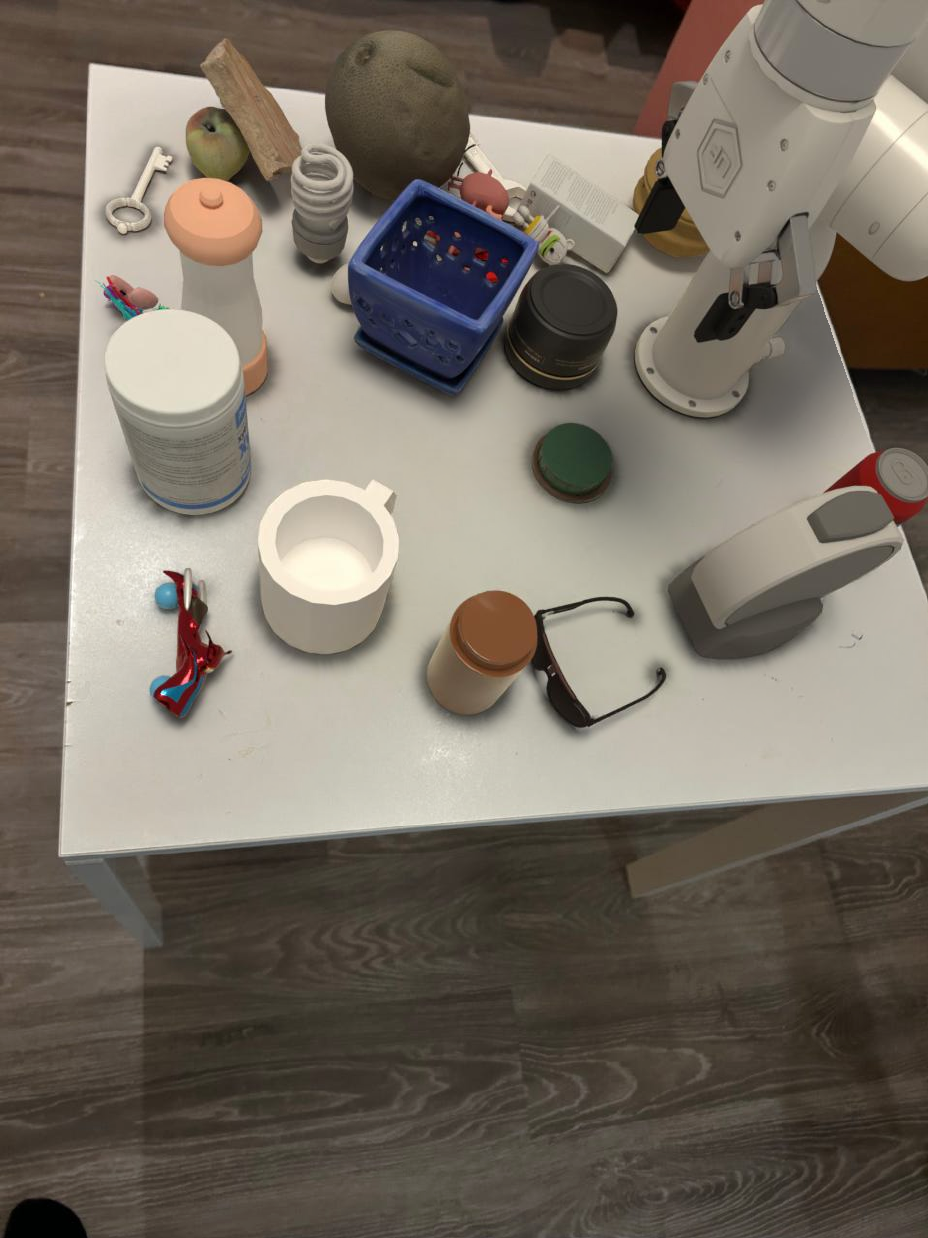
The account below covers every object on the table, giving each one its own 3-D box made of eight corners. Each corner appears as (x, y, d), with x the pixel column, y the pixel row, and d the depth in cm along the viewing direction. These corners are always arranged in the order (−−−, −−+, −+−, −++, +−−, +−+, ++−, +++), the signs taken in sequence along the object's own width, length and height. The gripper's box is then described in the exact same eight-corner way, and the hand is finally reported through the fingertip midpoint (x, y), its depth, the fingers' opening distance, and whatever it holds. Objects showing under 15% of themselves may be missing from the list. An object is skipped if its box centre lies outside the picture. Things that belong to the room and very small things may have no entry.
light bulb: (357, 259, 84) (368, 155, 73) (324, 291, 81) (331, 189, 70) (312, 229, 84) (316, 122, 73) (278, 260, 82) (277, 153, 71)
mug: (324, 495, 73) (331, 426, 63) (423, 553, 73) (445, 493, 63) (236, 613, 67) (228, 557, 58) (343, 677, 67) (353, 630, 57)
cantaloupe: (292, 135, 75) (407, 250, 84) (400, 3, 69) (511, 143, 79) (288, 92, 85) (392, 200, 94) (383, -27, 79) (483, 101, 88)
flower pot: (397, 269, 84) (414, 168, 73) (511, 329, 84) (545, 237, 73) (334, 356, 78) (343, 261, 68) (457, 420, 79) (485, 336, 68)
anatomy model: (55, 283, 69) (90, 334, 75) (130, 325, 68) (159, 374, 74) (95, 241, 70) (126, 295, 77) (169, 281, 69) (194, 333, 75)
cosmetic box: (513, 214, 88) (606, 275, 90) (529, 181, 84) (626, 246, 86) (532, 184, 91) (622, 244, 92) (549, 151, 87) (642, 214, 89)
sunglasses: (505, 632, 71) (527, 608, 67) (612, 598, 77) (639, 574, 72) (557, 743, 69) (584, 726, 64) (664, 700, 74) (695, 681, 70)
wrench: (538, 216, 91) (544, 201, 89) (500, 229, 89) (505, 214, 88) (420, 63, 96) (423, 47, 95) (382, 72, 94) (384, 56, 93)
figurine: (419, 261, 87) (481, 277, 85) (414, 236, 83) (480, 252, 82) (460, 180, 90) (521, 194, 89) (458, 153, 87) (521, 167, 86)
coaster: (590, 425, 82) (592, 421, 81) (623, 492, 80) (625, 489, 79) (519, 440, 79) (520, 437, 79) (550, 511, 77) (552, 508, 77)
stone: (300, 175, 89) (318, 160, 88) (267, 185, 79) (287, 169, 78) (221, 54, 84) (239, 37, 83) (175, 48, 74) (195, 29, 73)
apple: (258, 148, 86) (257, 95, 81) (241, 202, 83) (238, 150, 78) (201, 132, 85) (195, 78, 80) (181, 186, 82) (174, 133, 77)
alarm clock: (781, 538, 81) (908, 433, 65) (829, 631, 78) (975, 545, 62) (643, 577, 76) (742, 473, 60) (689, 677, 74) (807, 597, 57)
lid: (551, 501, 77) (557, 491, 75) (527, 439, 79) (532, 428, 77) (616, 488, 79) (623, 478, 77) (590, 428, 81) (597, 417, 79)
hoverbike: (131, 712, 59) (204, 701, 58) (140, 565, 64) (208, 553, 63) (166, 730, 64) (235, 720, 63) (172, 592, 68) (236, 580, 68)
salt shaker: (282, 380, 76) (282, 212, 59) (210, 410, 74) (188, 242, 56) (243, 323, 78) (231, 142, 60) (171, 350, 75) (137, 169, 58)
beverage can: (818, 575, 81) (902, 517, 70) (781, 519, 82) (857, 453, 71) (866, 553, 83) (955, 493, 72) (829, 498, 85) (910, 431, 74)
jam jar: (486, 631, 71) (523, 573, 60) (514, 701, 69) (558, 654, 58) (415, 653, 69) (440, 597, 58) (442, 725, 67) (474, 681, 56)
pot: (648, 281, 91) (689, 206, 82) (604, 201, 94) (639, 121, 85) (733, 266, 94) (781, 193, 85) (688, 190, 98) (730, 112, 89)
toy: (486, 125, 79) (591, 239, 85) (485, 123, 82) (586, 234, 88) (441, 182, 82) (545, 289, 88) (440, 178, 84) (542, 282, 90)
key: (142, 233, 78) (96, 221, 78) (143, 241, 79) (99, 228, 79) (179, 149, 83) (137, 137, 83) (180, 157, 84) (138, 145, 83)
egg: (333, 317, 80) (348, 308, 83) (384, 293, 78) (397, 284, 81) (314, 279, 79) (330, 271, 82) (365, 253, 76) (380, 245, 79)
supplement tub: (271, 492, 72) (268, 387, 59) (168, 536, 68) (141, 436, 55) (218, 408, 74) (204, 289, 61) (116, 447, 71) (77, 330, 57)
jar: (569, 241, 80) (546, 298, 87) (501, 287, 76) (482, 342, 83) (643, 308, 79) (614, 360, 86) (578, 358, 75) (553, 408, 82)
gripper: (696, -77, 43) (586, 195, 59) (856, 164, 38) (690, 391, 54) (807, -77, 46) (674, 184, 61) (972, 150, 41) (781, 371, 56)
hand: (682, 281), depth 57 cm, fingers open, 9 cm apart
